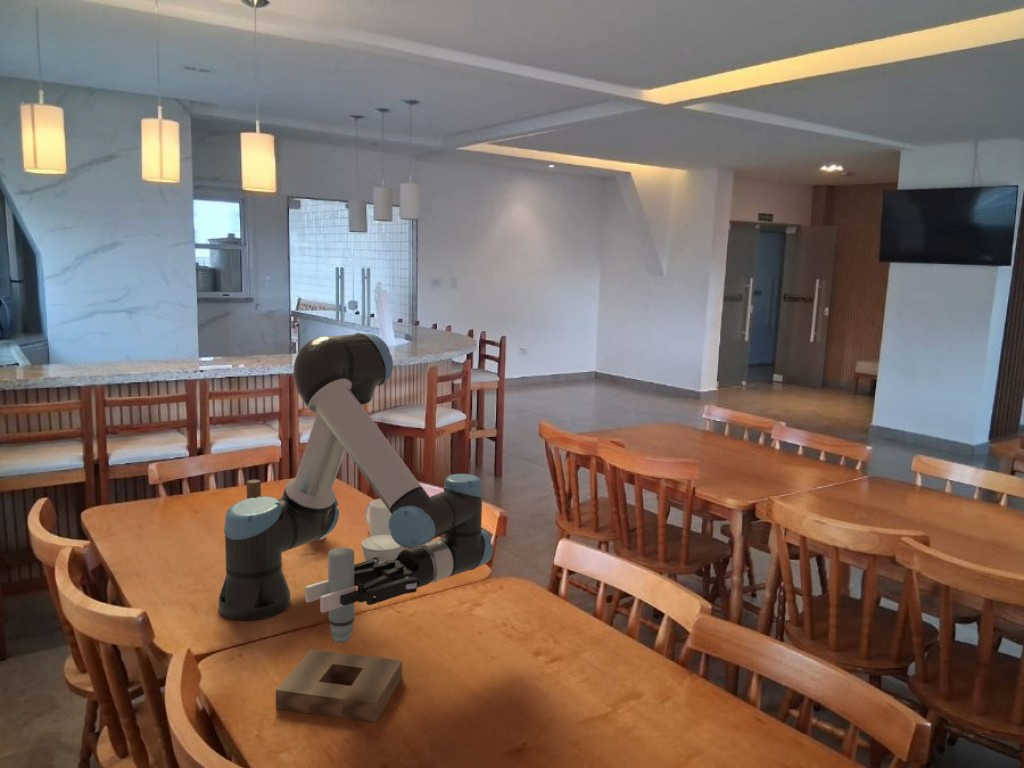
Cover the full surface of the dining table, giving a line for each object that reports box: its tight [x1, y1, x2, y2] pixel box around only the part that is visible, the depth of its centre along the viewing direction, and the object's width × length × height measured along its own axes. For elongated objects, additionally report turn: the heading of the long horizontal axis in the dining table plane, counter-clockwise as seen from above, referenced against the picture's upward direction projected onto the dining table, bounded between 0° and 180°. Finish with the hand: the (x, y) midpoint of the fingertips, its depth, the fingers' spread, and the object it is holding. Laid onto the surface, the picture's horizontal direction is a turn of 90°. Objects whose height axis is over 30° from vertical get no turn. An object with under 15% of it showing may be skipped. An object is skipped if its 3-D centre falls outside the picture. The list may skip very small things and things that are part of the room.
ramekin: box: [361, 535, 406, 563], centre depth 193 cm, size 11×11×5 cm
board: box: [275, 649, 403, 724], centre depth 133 cm, size 18×14×4 cm
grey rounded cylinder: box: [327, 547, 355, 644], centre depth 131 cm, size 4×4×16 cm
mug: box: [364, 498, 392, 537], centre depth 212 cm, size 12×9×9 cm
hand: (314, 599), depth 127 cm, fingers closed on grey rounded cylinder, 4 cm apart
